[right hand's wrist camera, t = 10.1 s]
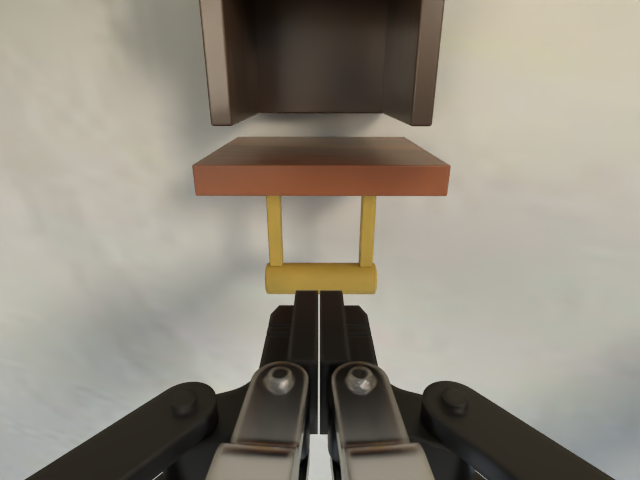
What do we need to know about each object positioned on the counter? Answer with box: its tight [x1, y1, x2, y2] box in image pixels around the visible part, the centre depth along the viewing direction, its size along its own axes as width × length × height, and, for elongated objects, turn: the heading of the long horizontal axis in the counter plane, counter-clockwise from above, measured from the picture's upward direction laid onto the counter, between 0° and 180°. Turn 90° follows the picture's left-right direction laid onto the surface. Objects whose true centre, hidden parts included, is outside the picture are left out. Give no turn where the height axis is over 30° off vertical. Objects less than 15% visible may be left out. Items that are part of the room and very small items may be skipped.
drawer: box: [192, 0, 450, 294], centre depth 17 cm, size 23×10×9 cm, turn 0°
